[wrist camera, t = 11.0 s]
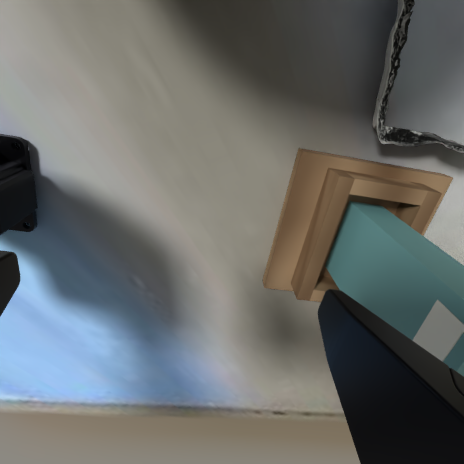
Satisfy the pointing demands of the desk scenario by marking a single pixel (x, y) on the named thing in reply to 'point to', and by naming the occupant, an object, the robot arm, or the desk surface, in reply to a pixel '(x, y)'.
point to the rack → (340, 213)
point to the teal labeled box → (401, 279)
